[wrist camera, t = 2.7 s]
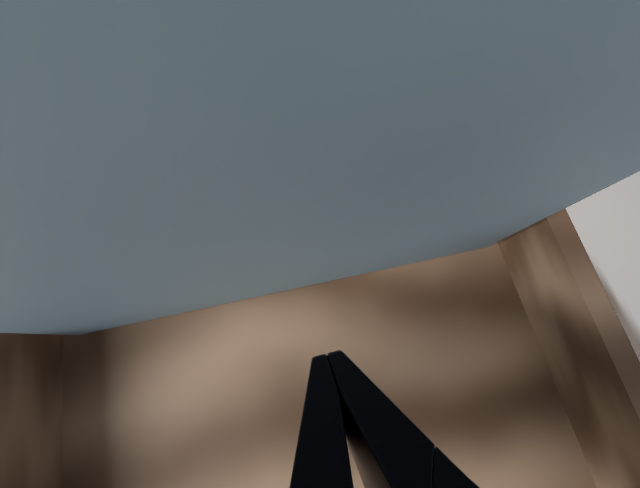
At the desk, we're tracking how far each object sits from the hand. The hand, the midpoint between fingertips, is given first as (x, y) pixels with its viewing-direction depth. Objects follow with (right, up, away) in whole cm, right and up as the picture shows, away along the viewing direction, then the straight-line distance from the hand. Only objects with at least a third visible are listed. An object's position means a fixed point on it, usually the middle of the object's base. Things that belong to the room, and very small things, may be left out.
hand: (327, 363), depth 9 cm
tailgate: (-2, +2, +9) cm, 10 cm away
